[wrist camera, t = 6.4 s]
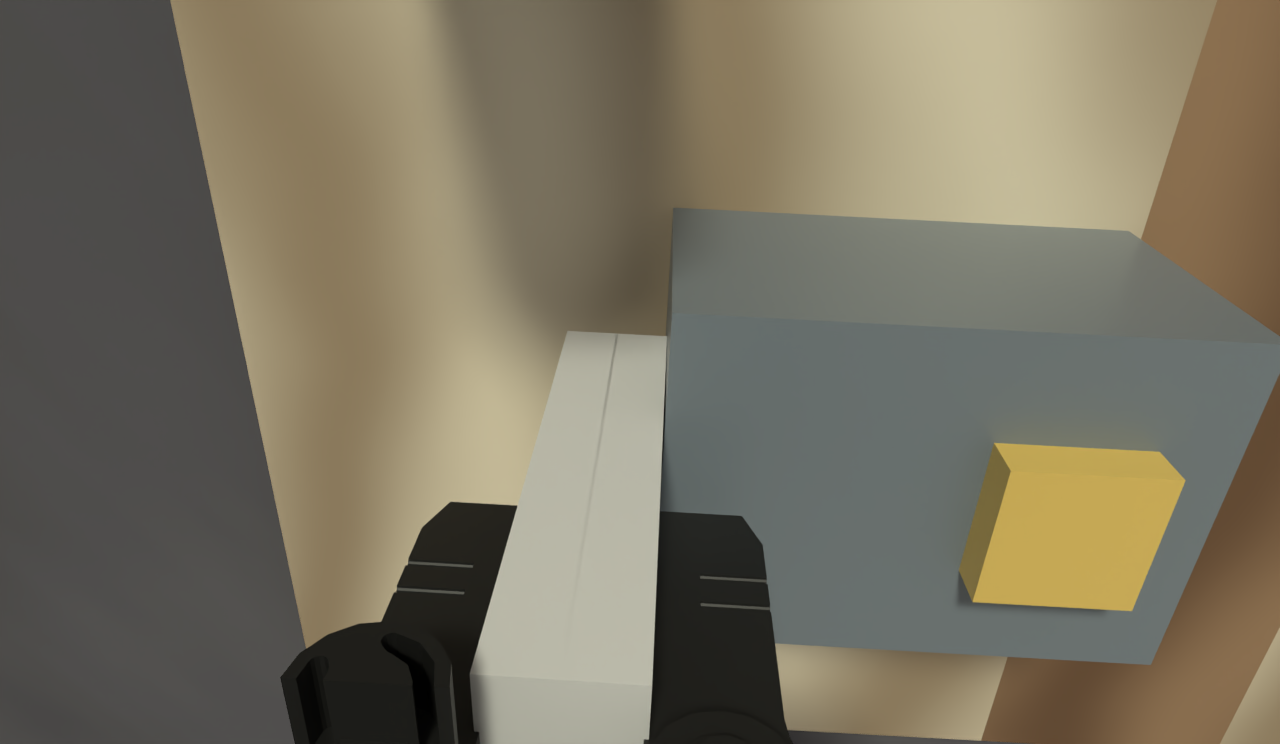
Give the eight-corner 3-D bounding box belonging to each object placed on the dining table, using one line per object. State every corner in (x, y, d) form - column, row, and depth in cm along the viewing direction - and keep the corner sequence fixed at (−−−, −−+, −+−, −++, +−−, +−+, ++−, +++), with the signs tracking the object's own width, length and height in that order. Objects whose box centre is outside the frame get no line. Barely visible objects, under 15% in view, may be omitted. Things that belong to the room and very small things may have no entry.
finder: (657, 474, 16) (651, 669, 12) (673, 207, 13) (672, 335, 9) (1043, 495, 16) (1173, 699, 12) (1128, 230, 13) (1328, 370, 9)
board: (337, 662, 20) (317, 704, 19) (186, -136, 12) (140, -140, 11) (1387, 718, 19) (1427, 765, 18) (1894, -79, 12) (2011, -78, 11)
